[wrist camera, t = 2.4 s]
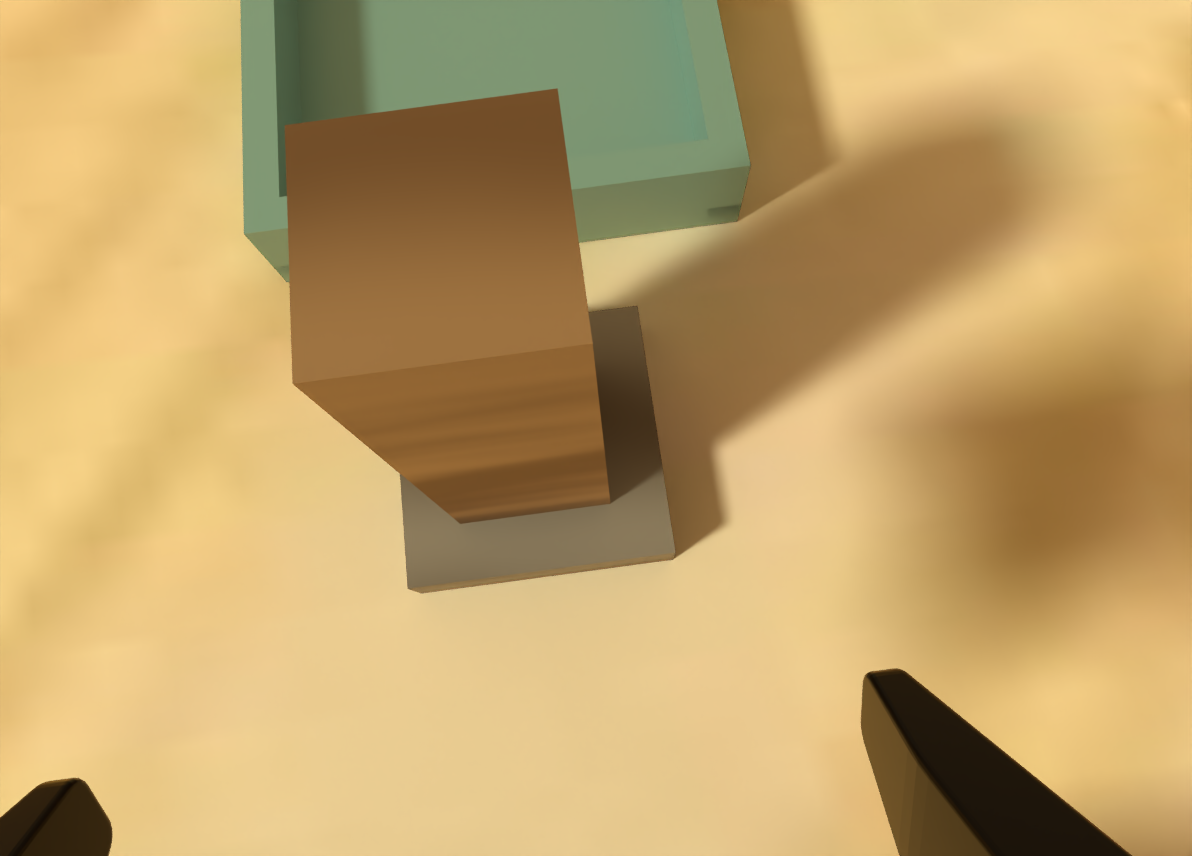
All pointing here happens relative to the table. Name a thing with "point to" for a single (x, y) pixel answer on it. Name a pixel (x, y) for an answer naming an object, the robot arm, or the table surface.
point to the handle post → (472, 340)
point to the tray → (504, 67)
